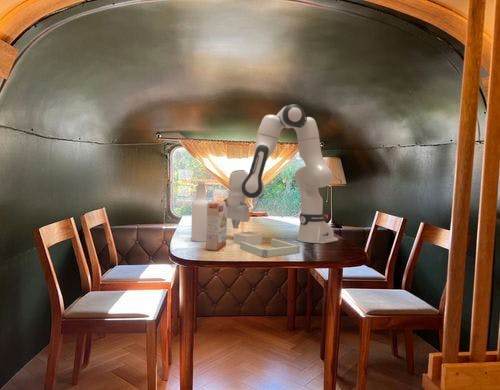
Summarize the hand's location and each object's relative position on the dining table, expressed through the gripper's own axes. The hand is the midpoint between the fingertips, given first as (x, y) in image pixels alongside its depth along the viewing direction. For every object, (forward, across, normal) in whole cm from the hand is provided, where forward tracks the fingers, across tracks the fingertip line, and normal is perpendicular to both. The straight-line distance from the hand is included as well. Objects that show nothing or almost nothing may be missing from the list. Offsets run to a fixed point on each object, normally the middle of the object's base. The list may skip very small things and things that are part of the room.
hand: (235, 228), depth 176 cm
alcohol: (+6, +5, +17) cm, 19 cm away
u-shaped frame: (+6, -29, 0) cm, 29 cm away
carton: (+6, -11, -1) cm, 13 cm away
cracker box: (+6, -13, +17) cm, 22 cm away
